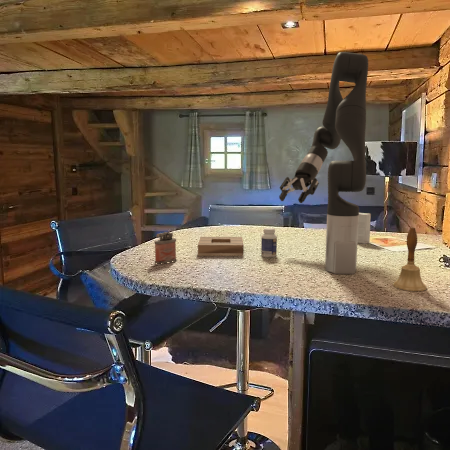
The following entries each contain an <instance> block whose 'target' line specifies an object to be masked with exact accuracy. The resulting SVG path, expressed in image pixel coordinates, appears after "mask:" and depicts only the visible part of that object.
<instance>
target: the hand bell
mask: <svg viewBox="0 0 450 450" xmlns="http://www.w3.org/2000/svg"><path fill="white" fill-rule="evenodd" d="M417 244H418V234H417V231H416V228H415V227H410V228H409V230H408V233H407V236H406V247H407V263H406V264H405V265H402V266H401V269H400V273H399V277H398V278H397V280H395V281H394V282H393V284H392V286H393V287H394V288H395V287H396V289H398V288H399V289H398V290H401V289H403V290H402V291H406V290H407V292H423V291H425V290H427V289H428V288H427V285H426V284H425V283H424V281H423V280H422V278H421V277H422V276H421V268H420V267H419V266H417V265H416V264H415V250H416V248H417V246H418V245H417Z"/></svg>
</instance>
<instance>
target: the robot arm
mask: <svg viewBox="0 0 450 450" xmlns="http://www.w3.org/2000/svg"><path fill="white" fill-rule="evenodd" d="M331 70H332V71H331V77H330V83H329V90H328V95H327V96H328V97H327V103H326V109H325V111H324V114H323V118H322V123H321V124H322V126H319V127H318V128H316V130H315V131H314V133H313V137H312V138H313V139H312V143H311V145H310V146H311V147H310V148H309V150H308V152H307V153H306V155H305V156H304V157H303V159H302V160H301V162H300V164H299V165H298V167H297V168H296V170H295V172H294V176H293V177H292V178H290V177H288V176H287V177H286V178H284V180H283V182H282V183H281V185H280V186H279V189H280V191H281V193H280V195H279V196H278V199H279V200H280V202H284V201H285V199H286V198H287V196H288V194H289V193H291V192H294V191H298V190H299V191H302V192H301V194H300V195H299V197H298V199H297V200H298V202H299V203H300V204H303V203H304V202H305V200H306V198H307V197H308V196H310V195H311V196H313V195H314V194H315V192H316V190H317V188H318V186H319V184H320V182H319V181H318V179H317V178H316V177H317V176H318V174H319V172H320V170H321V168H322V165H323V164H324V162H325V160H326V159H327V156H328V154H329V152H328V149H329V150H335V149H337V148H338V147H339V145H340V144H341V142H343V143H344V144H345V146H346V147H347V148H348V149H349V151H350V154H351V155H352V156H351V157H352V158H353V160H332V161H330V163H329V165H328V168H327V211H326V212H327V213H326V230H325V231H326V233H325V235H326V236H325V264H324V269H325V271H327V272H329V273H333V274H335V275H336V274H340V275H341V274H343V275H345V274H347V275H348V274H350V275H352V274H353V275H354V274H356V272H357V261H358V259H357V258H358V243H357V242H358V222H359V213H360V207H359V206H358V204H356V203H353V202H349V201H347V200H345V198H342V197H341V195H339V193H340V192H341V193H343V192H345V193H353V192H354V193H359V192H362V191H363V190H364V189H365V187H366V184H367V183H366V182H367V165H366V164H367V163H366V161H367V160H366V142H365V141H366V128H367V127H366V125H367V101H366V100H367V85H368V84H367V83H368V73H369V58H368V56H367V55H366V54H364V53H354V52H349V51H348V52H347V51H341V52H338V53H337V55H336V57H335V59H334V61H333V65H332V69H331ZM340 82H342V83H343V82H344V83H345V82H346V83H353V84H355V85H354V87H353V88H352V90H351V91H350V92H349V93H348V94H347V95H346V96H345V97H344V98H343V96H342V93H341V91H340Z"/></svg>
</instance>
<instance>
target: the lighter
mask: <svg viewBox="0 0 450 450" xmlns="http://www.w3.org/2000/svg"><path fill="white" fill-rule="evenodd" d="M173 236H174V233H173V232H167V231H164V232H162V233H157V234H156V238H157V240H154V243H153V244H154V253H155V254H154V255H155V256H154V259H155V260H154V264H155V263H157V264H161V263H167V262H172V261H175V262H177V253H176V251H177V250H176V249H177V247H176V246H177V245H176V242H177V238H173ZM172 263H173V262H172ZM167 264H168V263H167ZM161 265H162V264H161Z"/></svg>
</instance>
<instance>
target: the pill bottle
mask: <svg viewBox="0 0 450 450" xmlns="http://www.w3.org/2000/svg"><path fill="white" fill-rule="evenodd" d="M275 232H276V229H275V228H274V227H263V234H262V235H261V240H260V241H261V244H260V245H261V249H260V250H261V255H260V256H262V257H263V258H264V257H265V258H275V257H276V256H277V251H278V249H277V248H278V246H277V245H278V243H277V242H278V236H277V235H276V233H275Z"/></svg>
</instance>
